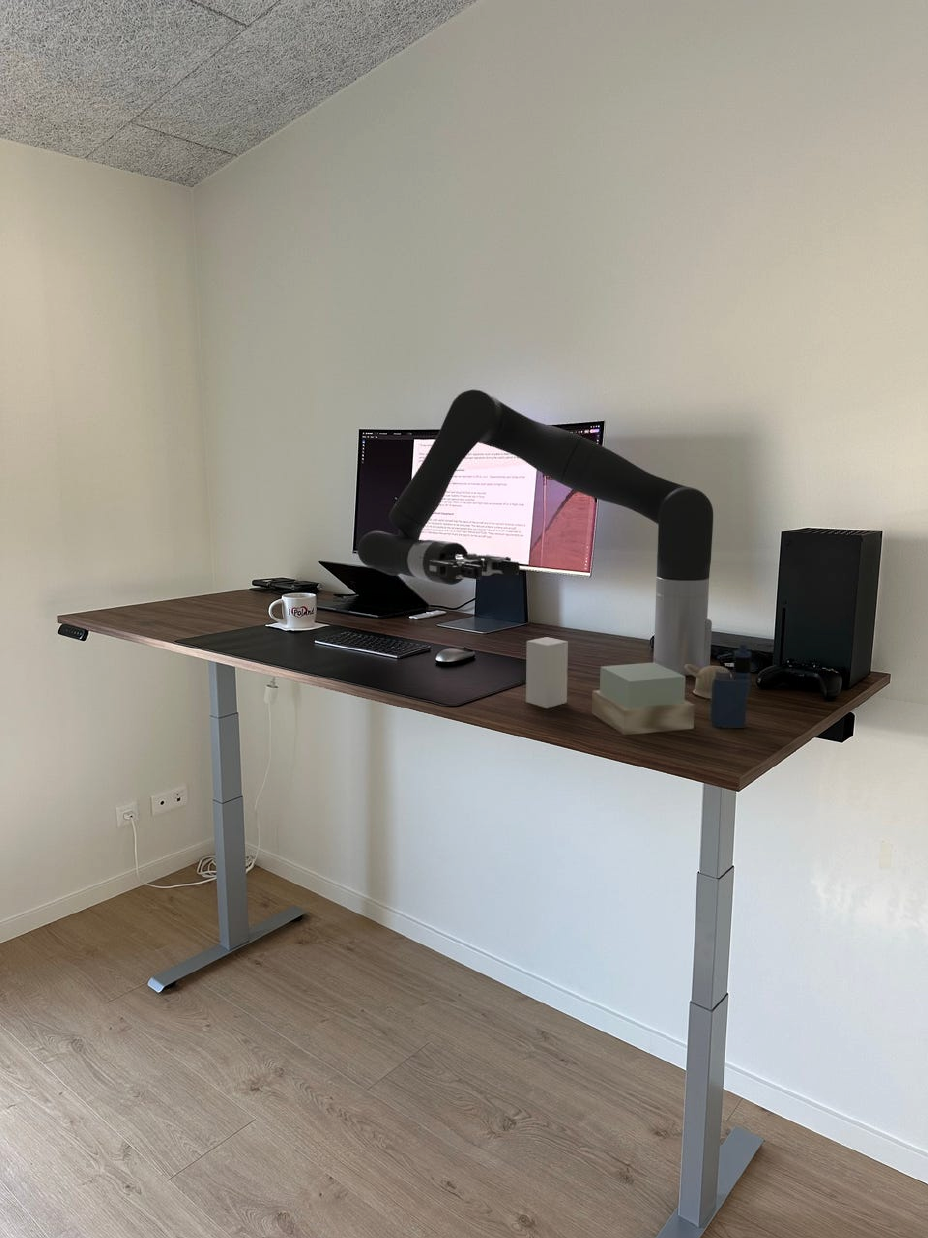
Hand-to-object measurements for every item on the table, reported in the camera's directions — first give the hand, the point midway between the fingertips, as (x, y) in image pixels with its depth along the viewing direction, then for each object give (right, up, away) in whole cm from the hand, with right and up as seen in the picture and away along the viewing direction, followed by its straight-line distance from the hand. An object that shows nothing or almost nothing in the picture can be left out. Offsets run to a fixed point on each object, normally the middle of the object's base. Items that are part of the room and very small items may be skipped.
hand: (499, 570), depth 140 cm
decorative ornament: (+35, -21, -1) cm, 40 cm away
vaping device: (+33, -24, -17) cm, 44 cm away
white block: (+7, -21, -4) cm, 23 cm away
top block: (+20, -20, -15) cm, 32 cm away
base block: (+20, -24, -14) cm, 34 cm away
